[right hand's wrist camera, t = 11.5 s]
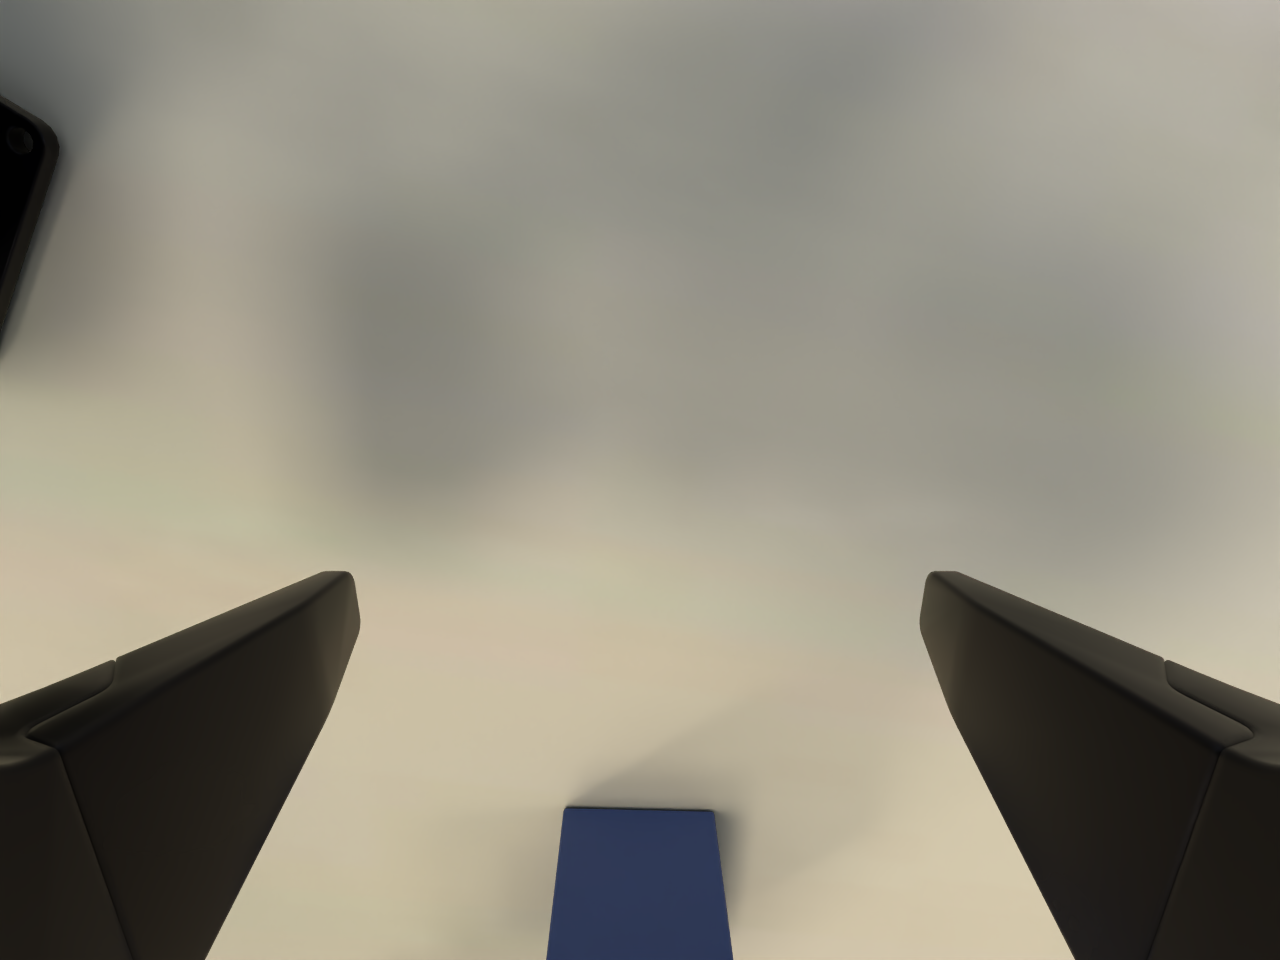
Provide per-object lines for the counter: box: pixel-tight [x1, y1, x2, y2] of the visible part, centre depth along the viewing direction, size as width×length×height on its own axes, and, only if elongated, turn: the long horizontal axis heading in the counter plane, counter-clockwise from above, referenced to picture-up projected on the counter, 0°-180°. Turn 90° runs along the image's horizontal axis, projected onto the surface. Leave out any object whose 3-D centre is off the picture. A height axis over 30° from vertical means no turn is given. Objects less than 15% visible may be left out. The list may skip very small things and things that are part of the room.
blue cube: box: [546, 808, 733, 960], centre depth 21 cm, size 5×5×5 cm
